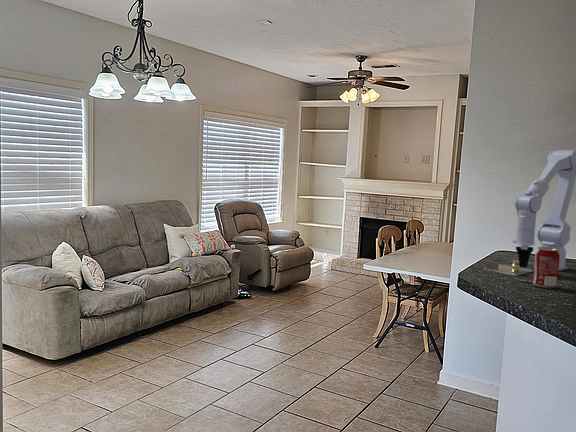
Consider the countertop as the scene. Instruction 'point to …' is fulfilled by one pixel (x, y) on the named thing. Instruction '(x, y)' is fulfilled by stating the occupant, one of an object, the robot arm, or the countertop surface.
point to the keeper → (494, 266)
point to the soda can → (546, 267)
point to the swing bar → (515, 266)
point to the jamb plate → (501, 266)
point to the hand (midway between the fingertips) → (523, 267)
